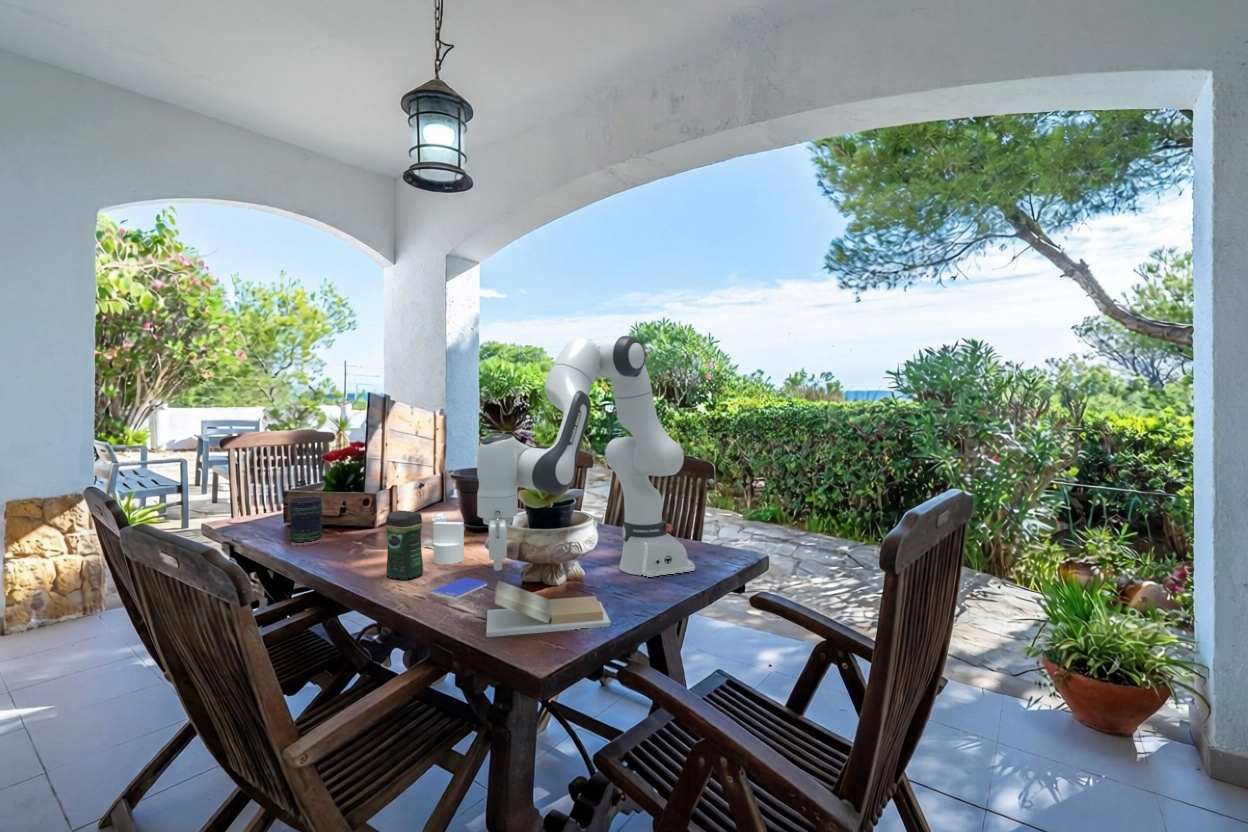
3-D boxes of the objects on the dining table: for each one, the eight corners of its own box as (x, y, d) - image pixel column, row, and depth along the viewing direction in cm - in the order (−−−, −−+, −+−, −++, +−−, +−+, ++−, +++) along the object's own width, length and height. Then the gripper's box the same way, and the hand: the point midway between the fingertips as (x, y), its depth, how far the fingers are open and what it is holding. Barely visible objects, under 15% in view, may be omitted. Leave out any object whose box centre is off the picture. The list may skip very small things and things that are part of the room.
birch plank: (544, 606, 137) (548, 598, 137) (548, 623, 127) (551, 614, 127) (495, 588, 134) (498, 580, 134) (494, 603, 124) (498, 595, 124)
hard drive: (454, 595, 145) (487, 581, 156) (430, 590, 149) (463, 576, 160) (454, 601, 145) (487, 587, 156) (430, 596, 149) (464, 582, 160)
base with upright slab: (468, 557, 182) (468, 520, 181) (457, 566, 173) (457, 526, 172) (440, 556, 183) (440, 519, 182) (428, 565, 174) (428, 525, 173)
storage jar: (307, 537, 206) (306, 496, 205) (329, 540, 203) (328, 498, 202) (283, 544, 196) (282, 501, 196) (305, 547, 193) (304, 503, 193)
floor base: (600, 605, 141) (600, 593, 141) (610, 626, 129) (610, 613, 128) (487, 614, 136) (487, 601, 135) (486, 637, 123) (486, 623, 123)
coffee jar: (428, 574, 165) (427, 510, 164) (407, 582, 158) (406, 515, 157) (403, 569, 169) (402, 507, 169) (381, 577, 162) (380, 512, 161)
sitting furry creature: (450, 542, 200) (450, 508, 199) (458, 548, 193) (458, 512, 192) (422, 546, 194) (422, 511, 194) (430, 552, 187) (429, 516, 187)
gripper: (513, 516, 119) (513, 582, 120) (511, 498, 139) (511, 555, 140) (481, 517, 118) (482, 584, 118) (484, 499, 138) (484, 556, 138)
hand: (497, 568), depth 129 cm, fingers closed
